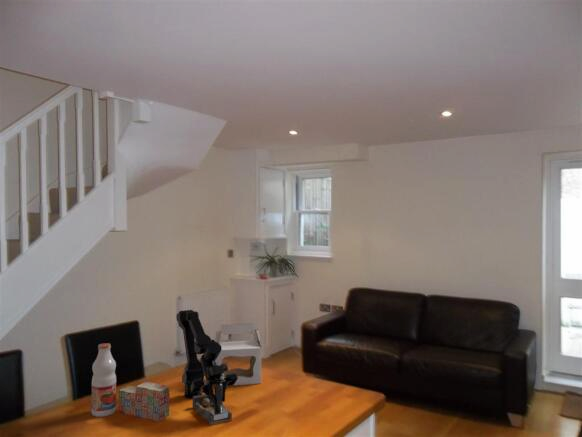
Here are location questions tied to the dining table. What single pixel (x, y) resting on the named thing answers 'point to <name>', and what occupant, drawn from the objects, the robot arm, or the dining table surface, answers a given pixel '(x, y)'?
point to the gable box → (241, 353)
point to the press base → (208, 409)
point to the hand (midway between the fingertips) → (219, 402)
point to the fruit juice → (103, 383)
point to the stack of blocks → (145, 401)
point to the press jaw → (218, 403)
